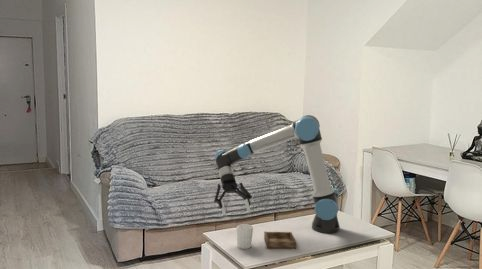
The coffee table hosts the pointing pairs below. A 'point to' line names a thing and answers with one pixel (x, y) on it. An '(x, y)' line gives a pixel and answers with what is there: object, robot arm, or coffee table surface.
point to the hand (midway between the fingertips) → (236, 212)
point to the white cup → (244, 235)
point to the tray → (279, 240)
